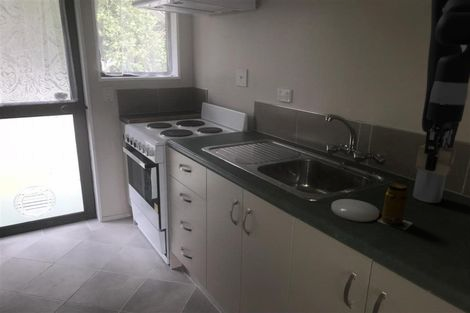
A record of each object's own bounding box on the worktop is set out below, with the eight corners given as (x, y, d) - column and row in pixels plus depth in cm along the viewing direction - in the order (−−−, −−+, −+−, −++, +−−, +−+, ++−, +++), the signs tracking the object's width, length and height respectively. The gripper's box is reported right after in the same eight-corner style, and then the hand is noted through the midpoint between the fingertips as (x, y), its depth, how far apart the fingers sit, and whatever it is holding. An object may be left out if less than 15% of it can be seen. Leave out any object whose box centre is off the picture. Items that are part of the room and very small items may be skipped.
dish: (345, 198, 124) (345, 195, 124) (386, 212, 114) (387, 209, 113) (322, 210, 114) (322, 206, 113) (365, 226, 103) (366, 222, 103)
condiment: (385, 214, 112) (391, 180, 109) (412, 223, 107) (419, 187, 104) (376, 221, 107) (382, 185, 104) (404, 231, 102) (412, 193, 98)
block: (421, 165, 92) (426, 143, 90) (451, 172, 87) (456, 149, 86) (415, 169, 89) (419, 146, 87) (445, 176, 84) (450, 152, 82)
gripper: (439, 98, 91) (427, 159, 95) (420, 101, 81) (407, 169, 86) (472, 101, 85) (457, 166, 90) (456, 105, 76) (440, 177, 80)
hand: (433, 167), depth 88 cm, fingers closed on block, 5 cm apart
